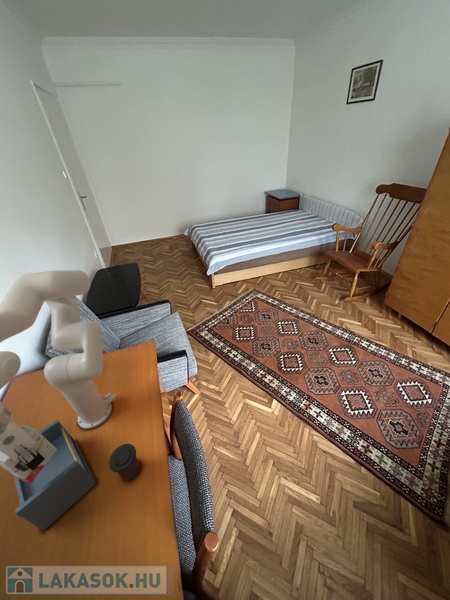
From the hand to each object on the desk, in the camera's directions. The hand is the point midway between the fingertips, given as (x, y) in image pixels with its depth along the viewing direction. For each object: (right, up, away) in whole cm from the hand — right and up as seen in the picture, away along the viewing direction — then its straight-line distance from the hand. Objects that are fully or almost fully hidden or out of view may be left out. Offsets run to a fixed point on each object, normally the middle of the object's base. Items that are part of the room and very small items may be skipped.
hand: (32, 457), depth 64 cm
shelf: (-2, -16, +14) cm, 22 cm away
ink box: (0, -3, +2) cm, 4 cm away
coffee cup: (+21, -14, +15) cm, 29 cm away
